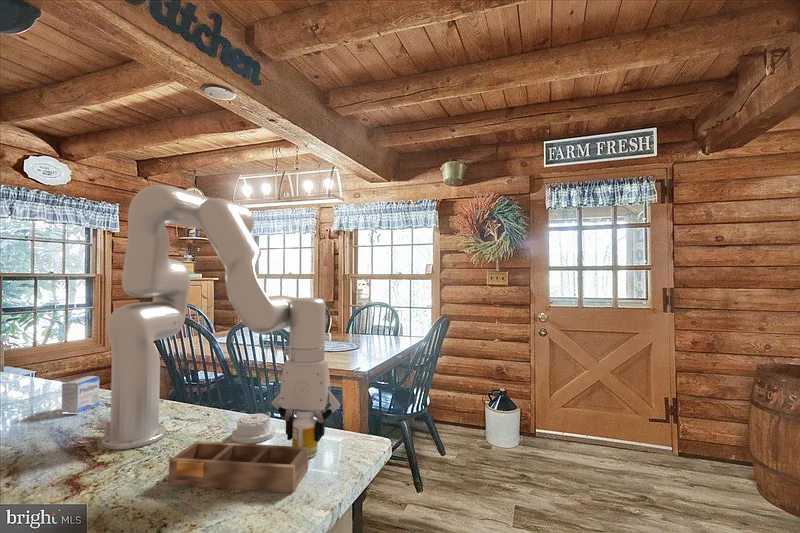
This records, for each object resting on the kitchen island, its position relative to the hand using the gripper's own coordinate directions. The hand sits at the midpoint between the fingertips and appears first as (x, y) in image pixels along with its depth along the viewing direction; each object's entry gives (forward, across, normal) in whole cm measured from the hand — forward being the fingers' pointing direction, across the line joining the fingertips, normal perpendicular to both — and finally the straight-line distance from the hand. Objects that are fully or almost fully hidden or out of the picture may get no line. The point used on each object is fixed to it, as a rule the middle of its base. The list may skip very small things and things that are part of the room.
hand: (305, 437), depth 88 cm
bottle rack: (+4, -9, -11) cm, 15 cm away
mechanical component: (+4, -15, +8) cm, 18 cm away
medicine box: (+4, -71, +19) cm, 73 cm away
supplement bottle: (+4, 0, 0) cm, 4 cm away
